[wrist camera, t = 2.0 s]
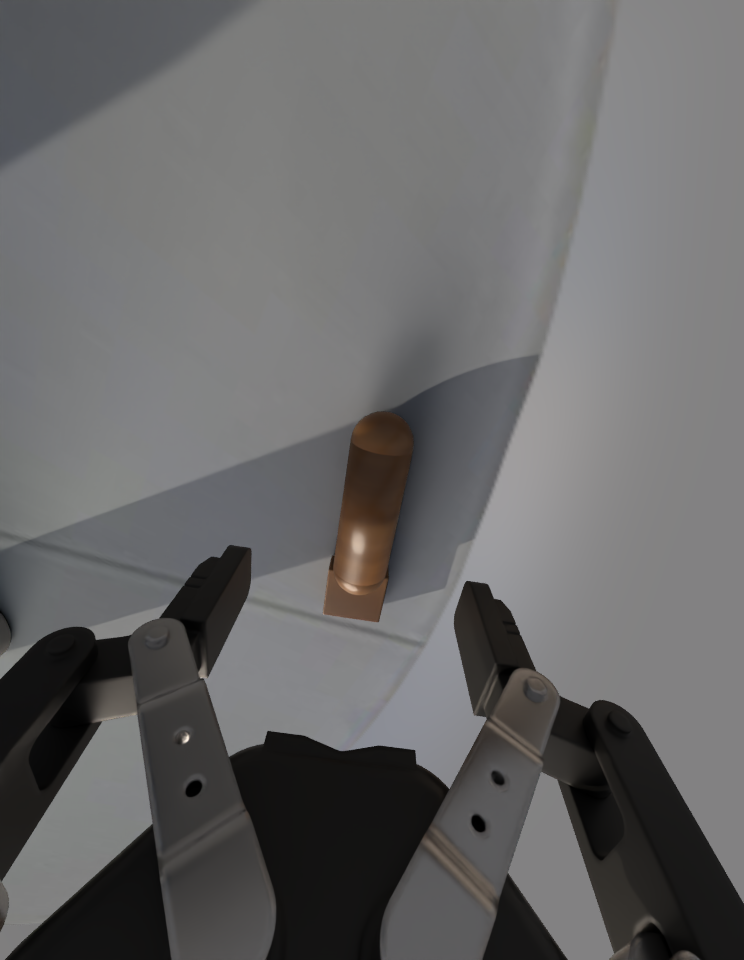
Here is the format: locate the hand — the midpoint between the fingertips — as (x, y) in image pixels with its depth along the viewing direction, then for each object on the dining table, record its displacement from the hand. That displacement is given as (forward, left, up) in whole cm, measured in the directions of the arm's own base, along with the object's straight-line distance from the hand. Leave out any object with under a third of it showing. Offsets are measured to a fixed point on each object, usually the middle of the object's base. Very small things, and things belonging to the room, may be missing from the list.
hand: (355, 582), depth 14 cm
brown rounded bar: (0, 0, -5) cm, 5 cm away
